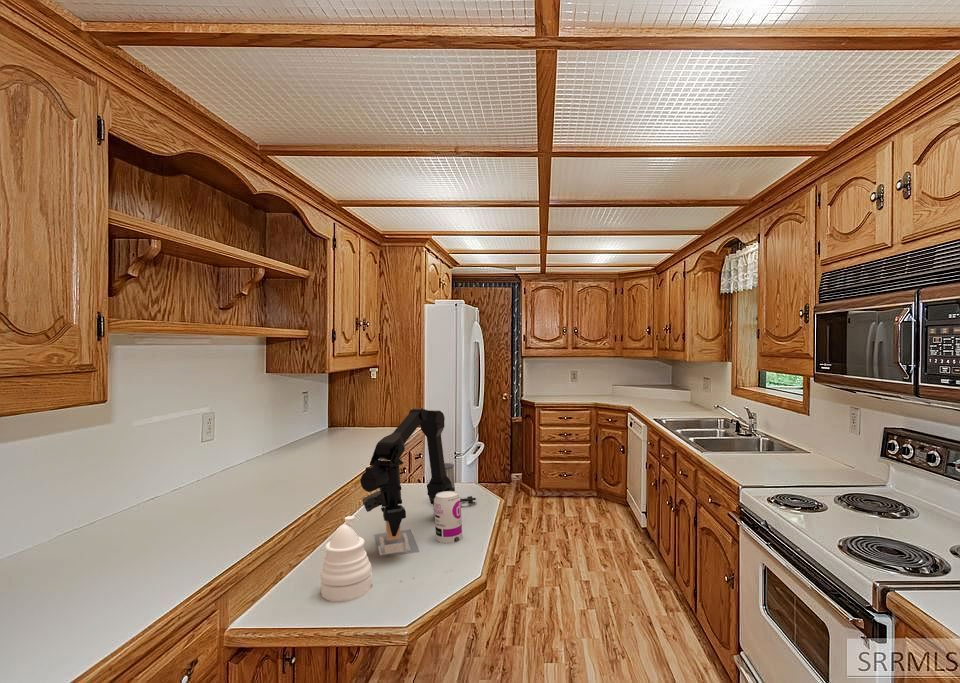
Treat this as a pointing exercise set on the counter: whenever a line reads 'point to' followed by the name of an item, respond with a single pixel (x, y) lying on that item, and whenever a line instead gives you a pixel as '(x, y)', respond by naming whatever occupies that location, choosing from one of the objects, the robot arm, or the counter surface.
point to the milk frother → (450, 474)
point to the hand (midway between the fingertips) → (393, 534)
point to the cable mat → (410, 537)
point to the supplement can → (448, 517)
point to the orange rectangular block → (389, 534)
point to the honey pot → (345, 566)
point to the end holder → (394, 547)
